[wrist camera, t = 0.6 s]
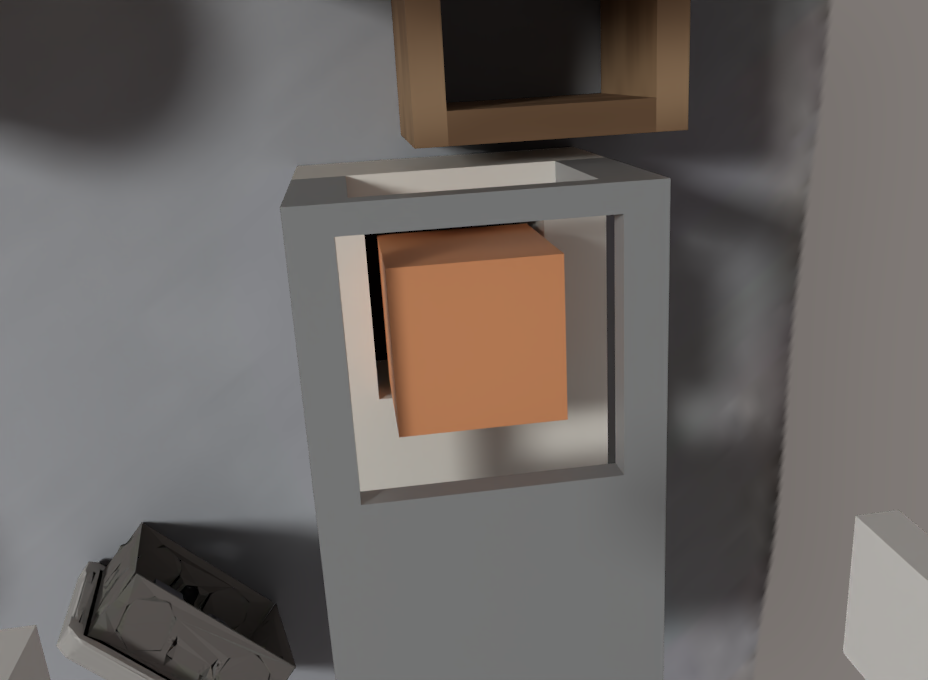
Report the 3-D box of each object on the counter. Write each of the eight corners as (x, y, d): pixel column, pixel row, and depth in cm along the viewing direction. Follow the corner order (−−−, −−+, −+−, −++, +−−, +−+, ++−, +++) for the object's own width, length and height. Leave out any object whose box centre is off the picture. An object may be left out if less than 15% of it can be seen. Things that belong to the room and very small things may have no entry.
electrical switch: (78, 569, 42) (24, 686, 33) (145, 484, 41) (109, 579, 32) (244, 665, 44) (235, 797, 35) (307, 585, 44) (315, 698, 35)
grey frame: (297, 166, 38) (279, 207, 26) (572, 146, 39) (670, 178, 28) (342, 577, 43) (344, 757, 32) (580, 548, 45) (662, 710, 33)
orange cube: (377, 235, 35) (385, 268, 29) (526, 223, 36) (564, 253, 30) (389, 378, 37) (399, 437, 31) (531, 364, 37) (567, 419, 31)
